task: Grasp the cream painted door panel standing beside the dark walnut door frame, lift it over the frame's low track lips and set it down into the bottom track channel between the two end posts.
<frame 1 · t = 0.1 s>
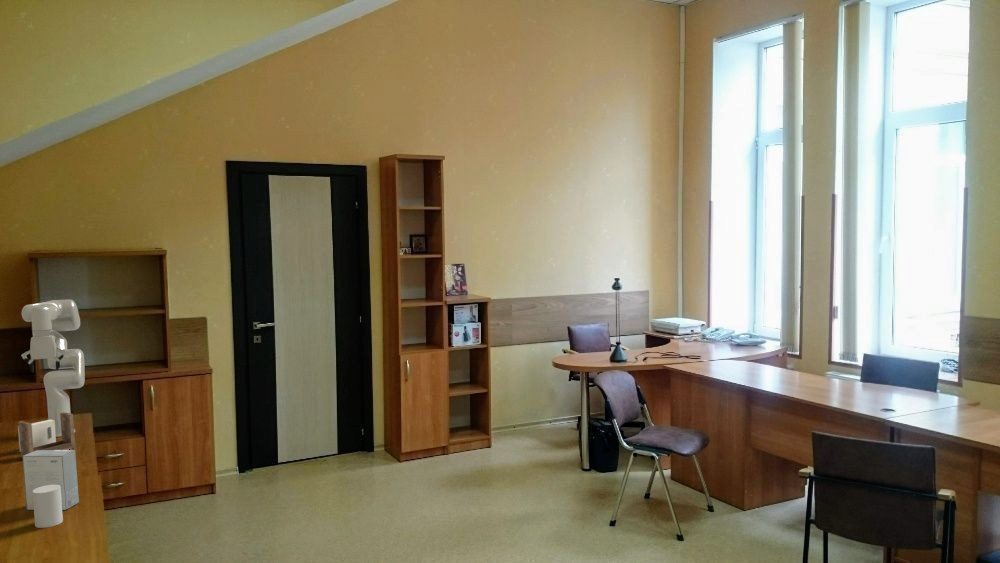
hand: (45, 371, 336), 37 cm above the table, tool pointing down, fingers open, 9 cm apart
white cylinder: (49, 523, 254), on the table
door frame: (48, 452, 337), on the table
door panel: (38, 449, 344), on the table
hard drive box: (53, 507, 269), on the table
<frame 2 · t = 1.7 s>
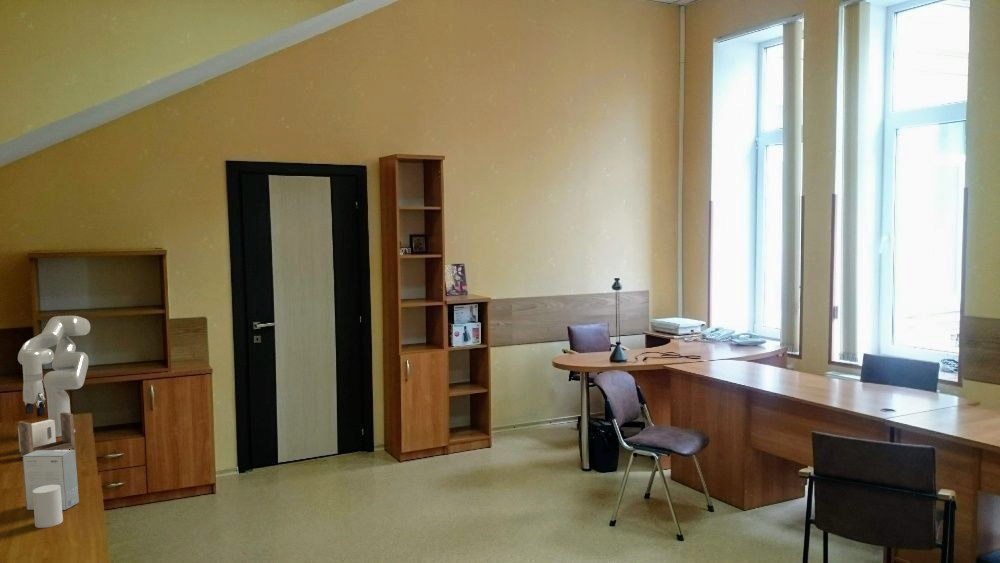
hand: (35, 414, 342), 16 cm above the table, tool pointing down, fingers open, 9 cm apart
nothing on the table moved.
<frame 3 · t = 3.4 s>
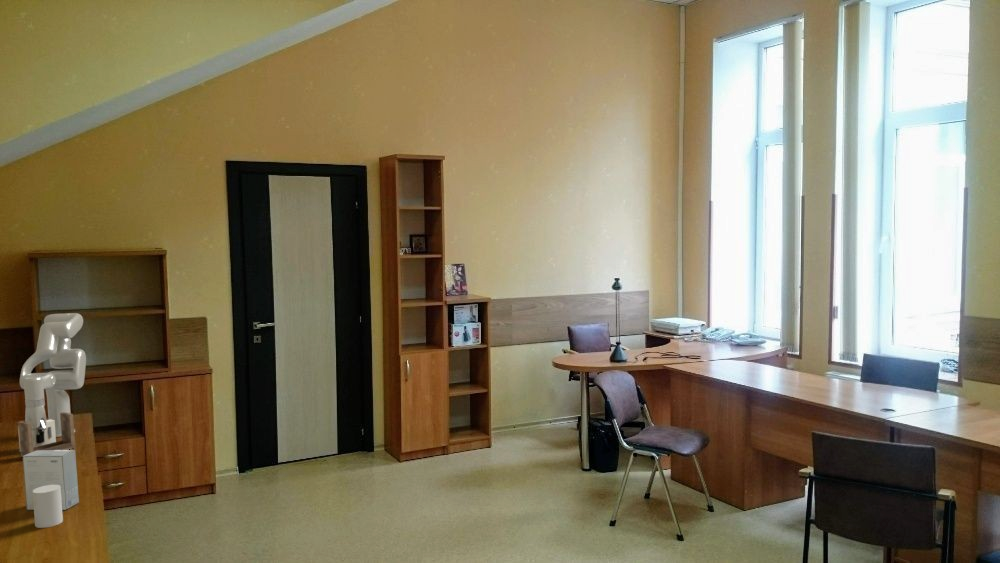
hand: (37, 441, 343), 3 cm above the table, tool pointing down, fingers closed on door panel, 4 cm apart
door panel: (38, 448, 344), on the table, touching gripper
everything else where it was.
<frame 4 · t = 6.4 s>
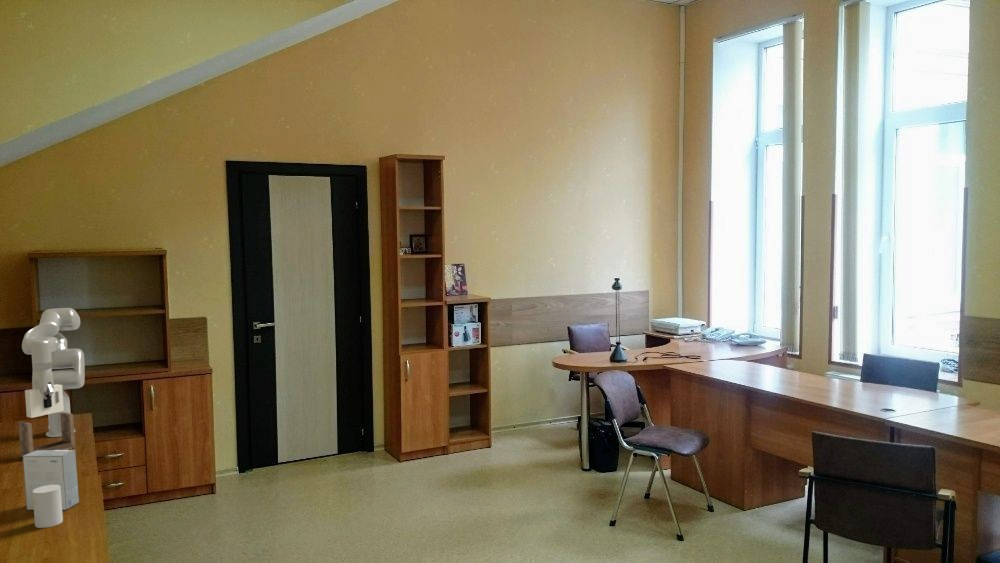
hand: (45, 406, 335), 21 cm above the table, tool pointing down, fingers closed on door panel, 4 cm apart
door panel: (45, 413, 336), point 18 cm above the table, touching gripper
everything else where it was.
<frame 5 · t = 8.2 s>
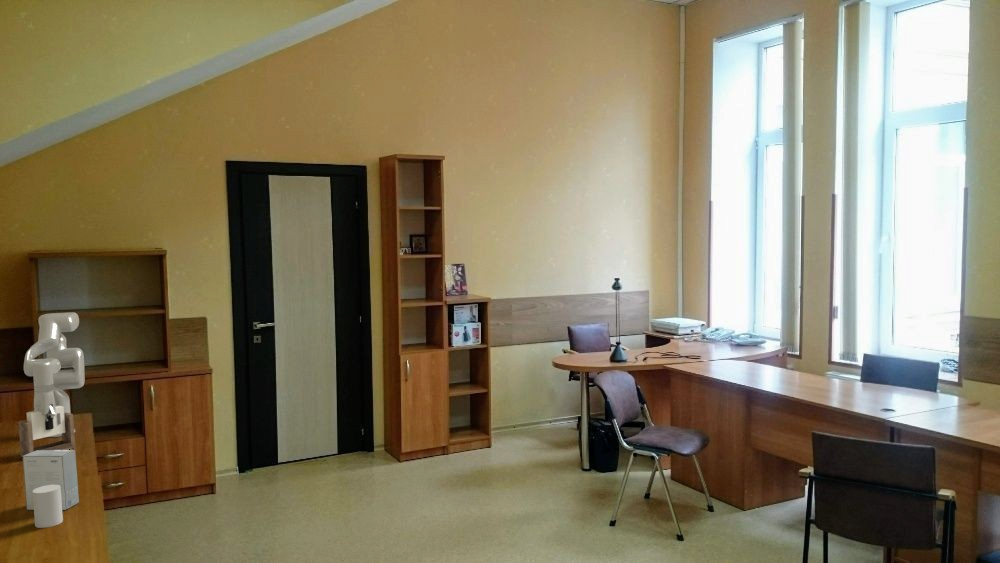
hand: (46, 428, 336), 11 cm above the table, tool pointing down, fingers closed on door panel, 4 cm apart
door panel: (47, 435, 336), point 8 cm above the table, touching gripper
everything else where it was.
when the fingers open (5 cm above the table, at t = 9.7 s): door panel stays where it is, resting on door frame.
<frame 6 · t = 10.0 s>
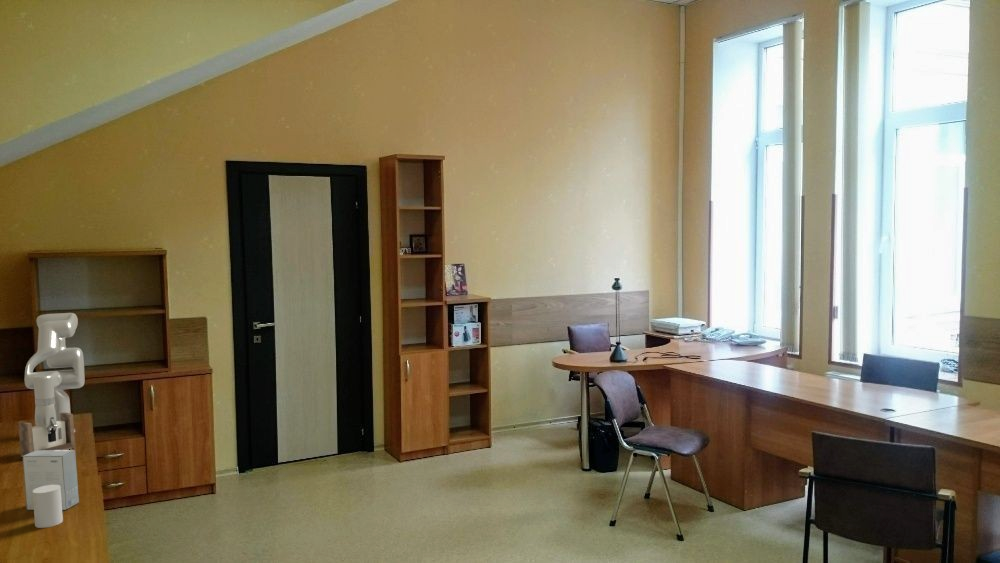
hand: (47, 440, 336), 6 cm above the table, tool pointing down, fingers open, 7 cm apart
door panel: (48, 450, 337), point 1 cm above the table, touching door frame
everything else where it was.
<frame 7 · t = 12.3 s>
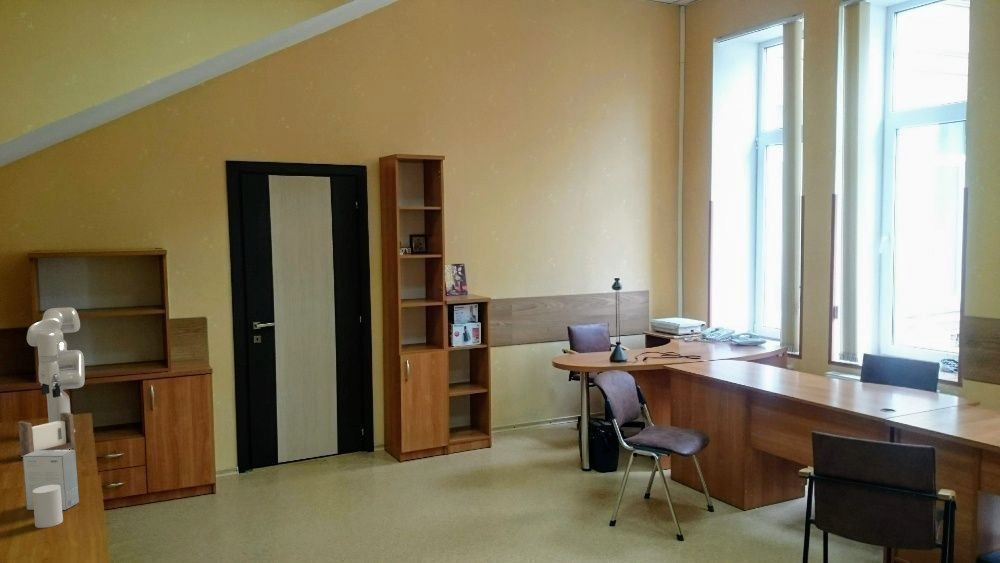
hand: (51, 395, 341), 25 cm above the table, tool pointing down, fingers open, 9 cm apart
nothing on the table moved.
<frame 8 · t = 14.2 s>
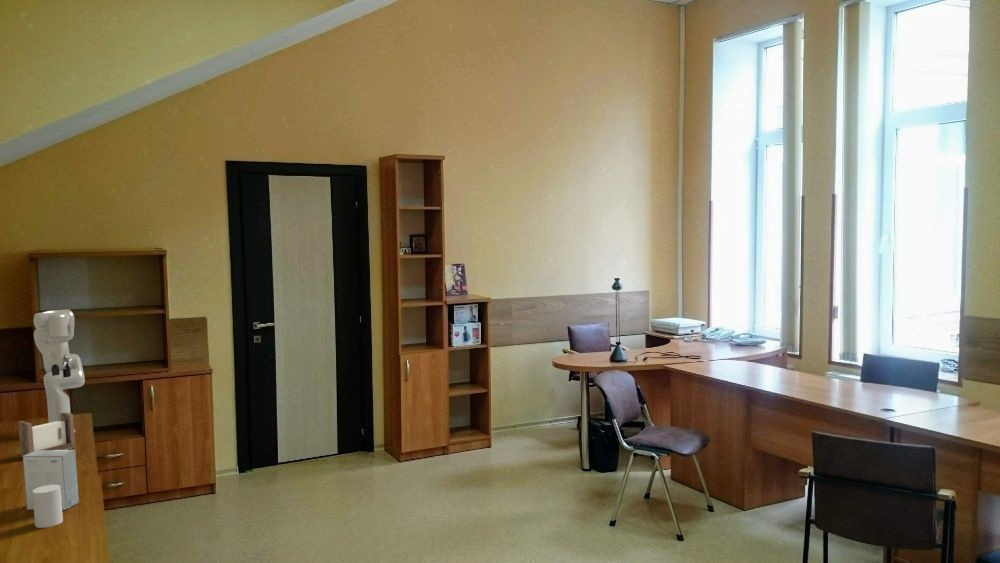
hand: (61, 376, 349), 32 cm above the table, tool pointing down, fingers open, 9 cm apart
nothing on the table moved.
at the end: door panel 0.1 cm off-centre on the door frame, point 1.0 cm above the door frame's base; door panel tilted 0°; the gripper is holding nothing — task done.
